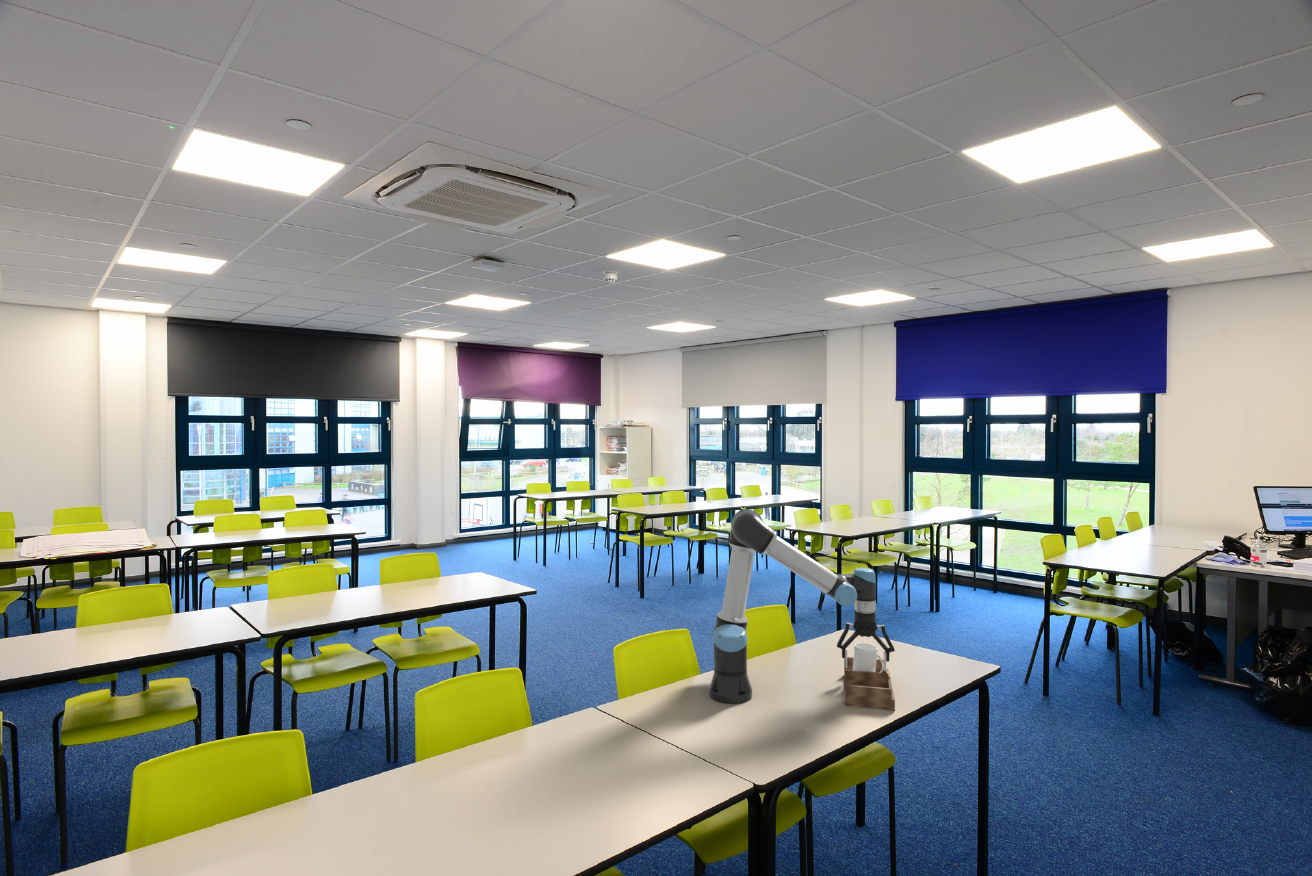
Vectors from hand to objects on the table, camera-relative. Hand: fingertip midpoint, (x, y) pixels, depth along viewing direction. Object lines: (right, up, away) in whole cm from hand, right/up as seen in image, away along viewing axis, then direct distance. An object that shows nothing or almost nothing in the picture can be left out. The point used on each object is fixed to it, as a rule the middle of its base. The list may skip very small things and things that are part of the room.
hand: (865, 668), depth 245 cm
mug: (0, -4, 0) cm, 4 cm away
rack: (-1, -6, -7) cm, 9 cm away
